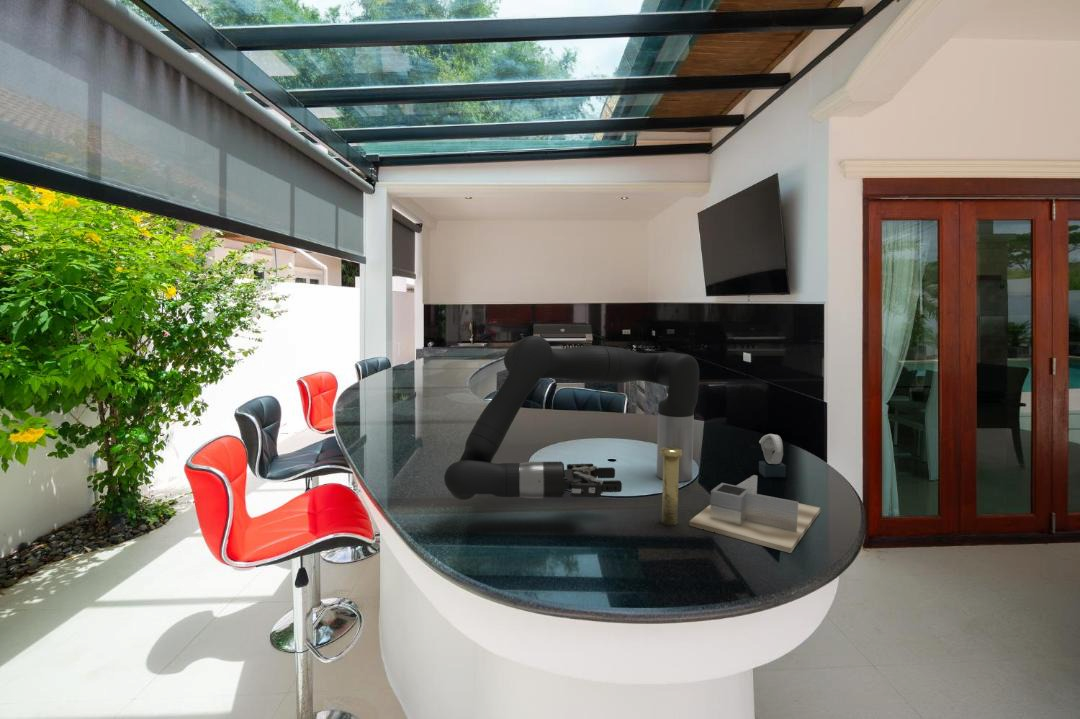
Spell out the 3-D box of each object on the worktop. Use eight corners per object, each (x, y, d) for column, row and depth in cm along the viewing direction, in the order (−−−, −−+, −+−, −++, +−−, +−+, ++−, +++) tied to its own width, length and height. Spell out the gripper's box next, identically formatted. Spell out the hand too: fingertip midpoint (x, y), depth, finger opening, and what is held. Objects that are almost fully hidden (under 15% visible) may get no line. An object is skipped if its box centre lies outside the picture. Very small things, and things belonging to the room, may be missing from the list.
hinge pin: (664, 516, 118) (666, 445, 117) (683, 521, 116) (685, 448, 114) (655, 522, 115) (657, 449, 113) (674, 528, 112) (676, 453, 110)
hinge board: (730, 492, 133) (730, 488, 133) (820, 512, 121) (820, 507, 120) (689, 525, 114) (689, 521, 113) (790, 553, 101) (790, 548, 101)
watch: (775, 469, 150) (777, 431, 149) (788, 479, 142) (790, 438, 141) (755, 469, 151) (757, 431, 149) (767, 479, 143) (768, 438, 141)
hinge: (735, 496, 128) (736, 471, 127) (810, 512, 118) (812, 486, 117) (709, 517, 115) (710, 490, 114) (791, 538, 105) (792, 509, 104)
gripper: (542, 473, 106) (624, 472, 106) (540, 452, 120) (613, 452, 121) (542, 510, 107) (623, 509, 107) (540, 485, 121) (612, 484, 121)
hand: (617, 479), depth 114 cm, fingers open, 8 cm apart
